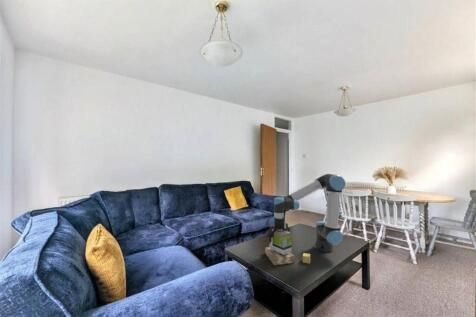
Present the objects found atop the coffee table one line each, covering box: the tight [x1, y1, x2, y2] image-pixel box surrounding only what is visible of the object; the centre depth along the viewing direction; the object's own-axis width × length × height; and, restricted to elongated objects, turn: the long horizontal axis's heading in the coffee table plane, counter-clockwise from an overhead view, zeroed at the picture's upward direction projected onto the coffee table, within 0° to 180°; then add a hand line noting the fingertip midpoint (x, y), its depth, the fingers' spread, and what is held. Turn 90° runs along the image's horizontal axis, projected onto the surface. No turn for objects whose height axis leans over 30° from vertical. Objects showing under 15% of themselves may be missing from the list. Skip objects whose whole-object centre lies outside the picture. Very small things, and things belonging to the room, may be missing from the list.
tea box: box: [268, 228, 293, 255], centre depth 160 cm, size 15×10×15 cm
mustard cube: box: [302, 252, 311, 265], centre depth 155 cm, size 5×5×5 cm
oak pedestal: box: [264, 246, 296, 266], centre depth 161 cm, size 16×19×5 cm
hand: (279, 245), depth 161 cm, fingers closed on tea box, 12 cm apart
